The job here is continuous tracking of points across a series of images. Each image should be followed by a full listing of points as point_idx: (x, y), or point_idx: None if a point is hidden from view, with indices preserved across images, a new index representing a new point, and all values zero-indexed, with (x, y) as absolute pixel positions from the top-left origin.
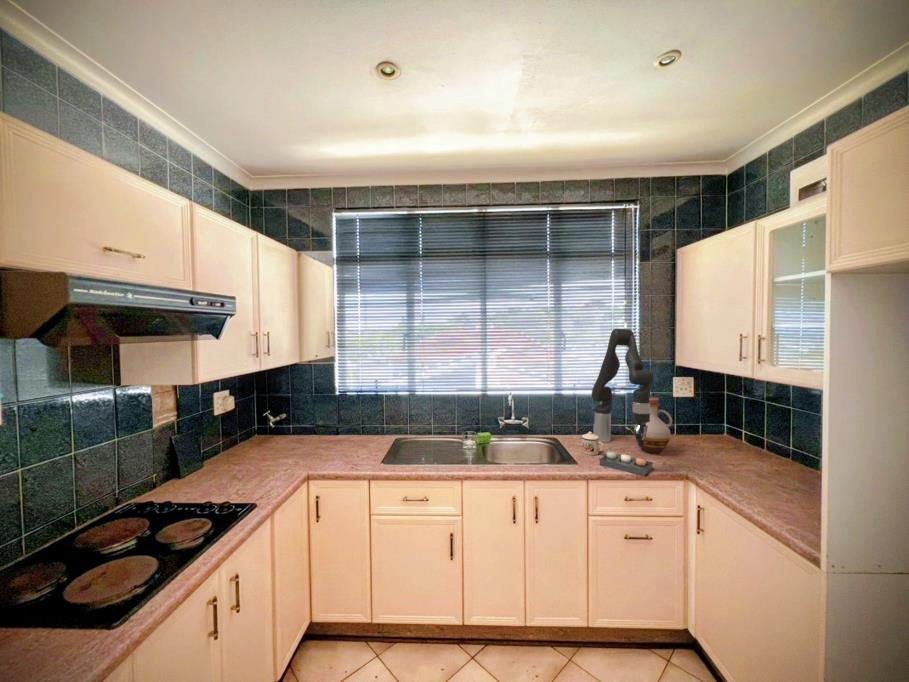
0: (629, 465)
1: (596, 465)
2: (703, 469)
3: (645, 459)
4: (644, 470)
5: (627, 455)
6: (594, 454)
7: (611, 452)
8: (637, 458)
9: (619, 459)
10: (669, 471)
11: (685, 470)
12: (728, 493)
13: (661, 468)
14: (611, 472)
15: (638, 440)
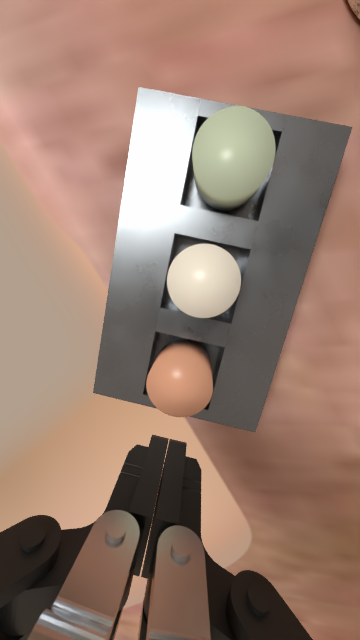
0: (122, 310)
1: (131, 95)
2: (341, 604)
3: (187, 414)
4: (93, 391)
5: (219, 293)
6: (355, 9)
7: (237, 153)
8: (182, 365)
9: (208, 235)
10: (240, 479)
11: (290, 540)
12: None
13: (268, 449)
14: (66, 212)
15: (133, 494)
